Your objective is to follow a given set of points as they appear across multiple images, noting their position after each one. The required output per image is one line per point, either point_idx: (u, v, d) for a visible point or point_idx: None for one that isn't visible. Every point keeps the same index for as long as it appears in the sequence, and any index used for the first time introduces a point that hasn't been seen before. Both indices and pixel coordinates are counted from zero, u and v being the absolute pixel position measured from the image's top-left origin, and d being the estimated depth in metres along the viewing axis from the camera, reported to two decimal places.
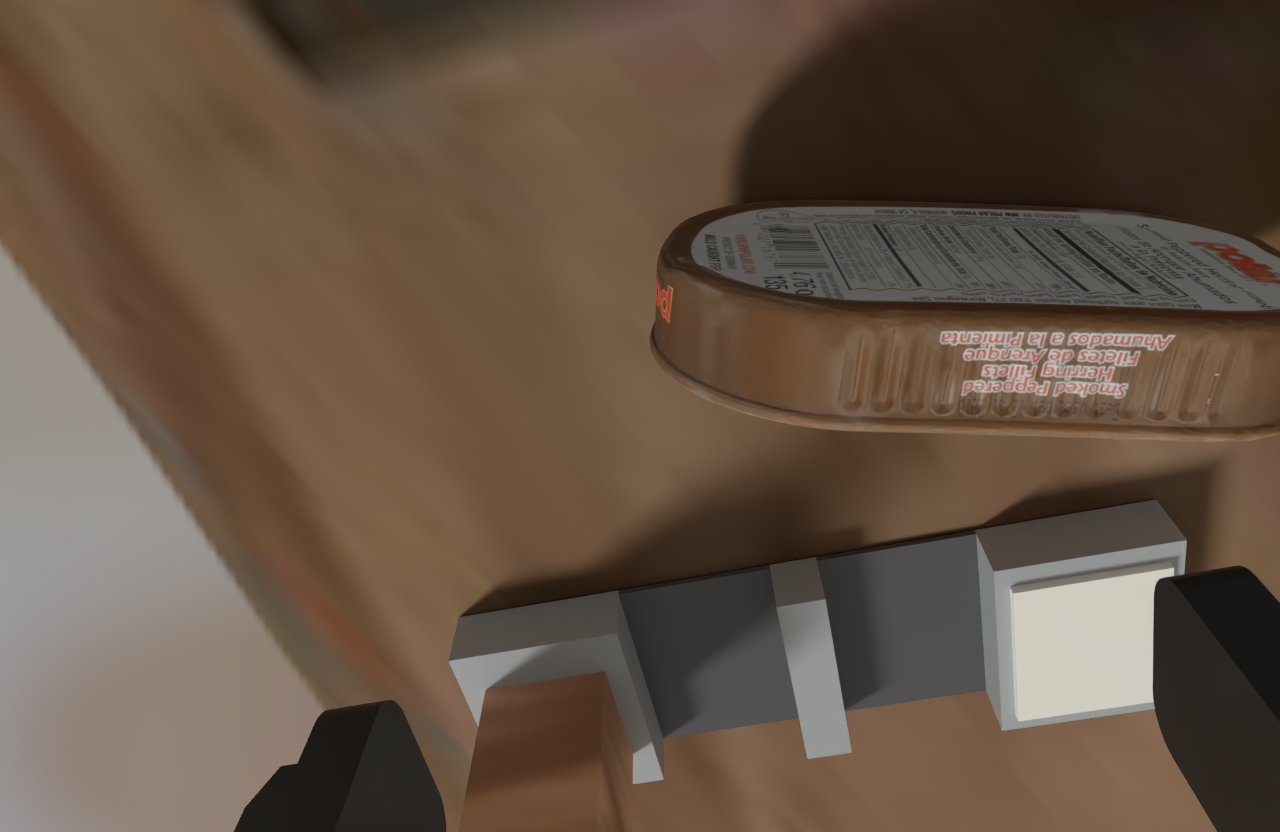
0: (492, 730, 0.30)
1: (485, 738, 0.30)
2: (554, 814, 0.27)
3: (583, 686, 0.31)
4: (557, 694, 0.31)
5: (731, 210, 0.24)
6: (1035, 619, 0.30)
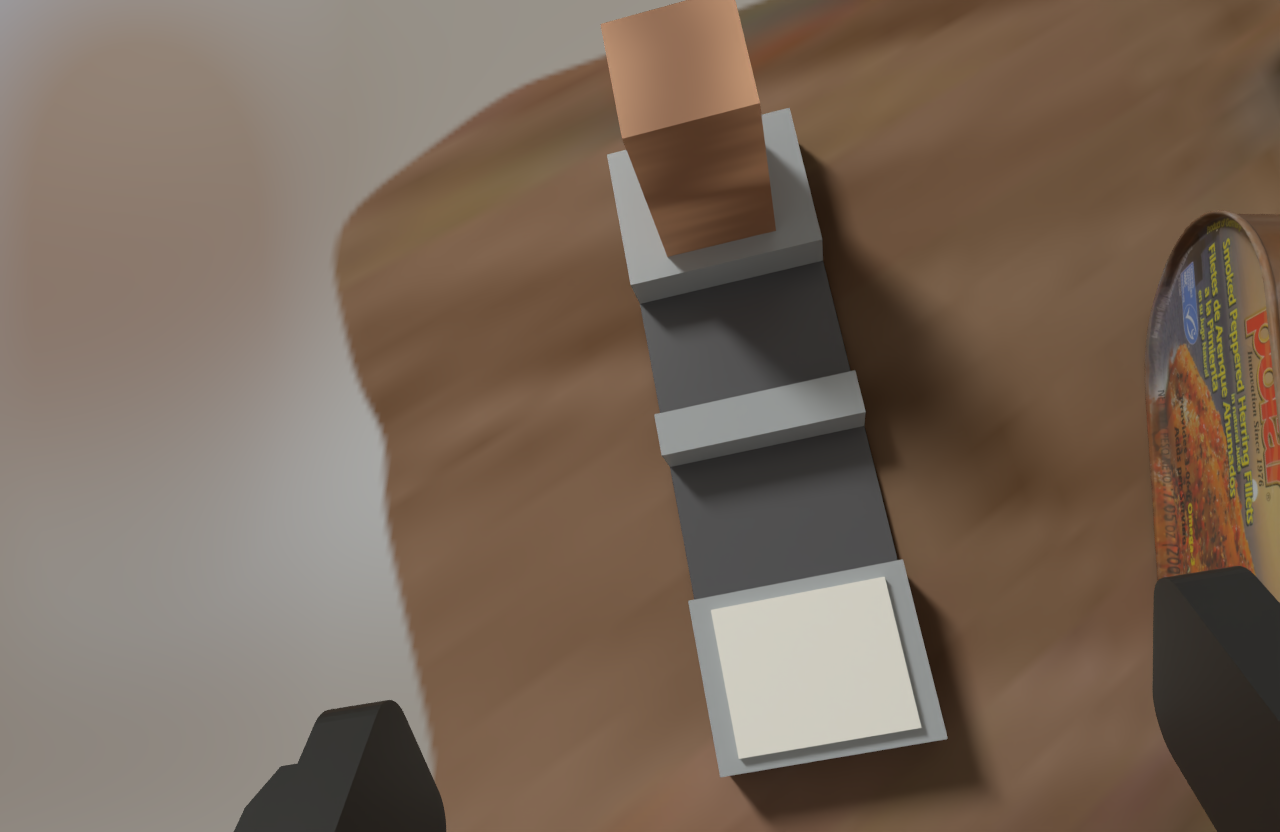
0: None
1: None
2: None
3: None
4: None
5: None
6: (852, 603, 0.31)
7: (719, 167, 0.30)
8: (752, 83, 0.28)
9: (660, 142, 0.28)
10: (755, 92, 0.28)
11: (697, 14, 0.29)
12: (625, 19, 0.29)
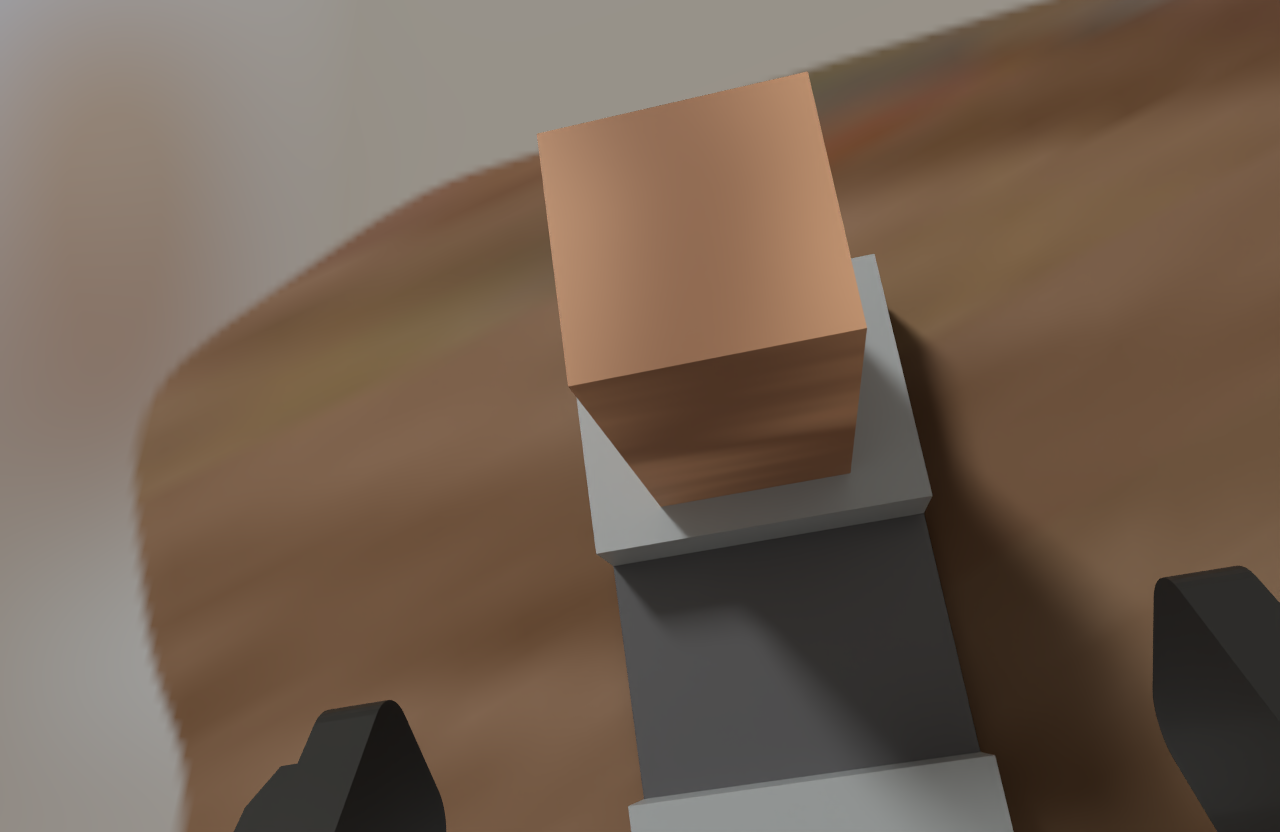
0: None
1: None
2: None
3: None
4: None
5: None
6: None
7: (766, 414, 0.16)
8: (850, 281, 0.13)
9: (649, 387, 0.14)
10: (857, 302, 0.13)
11: (735, 123, 0.14)
12: (588, 126, 0.14)
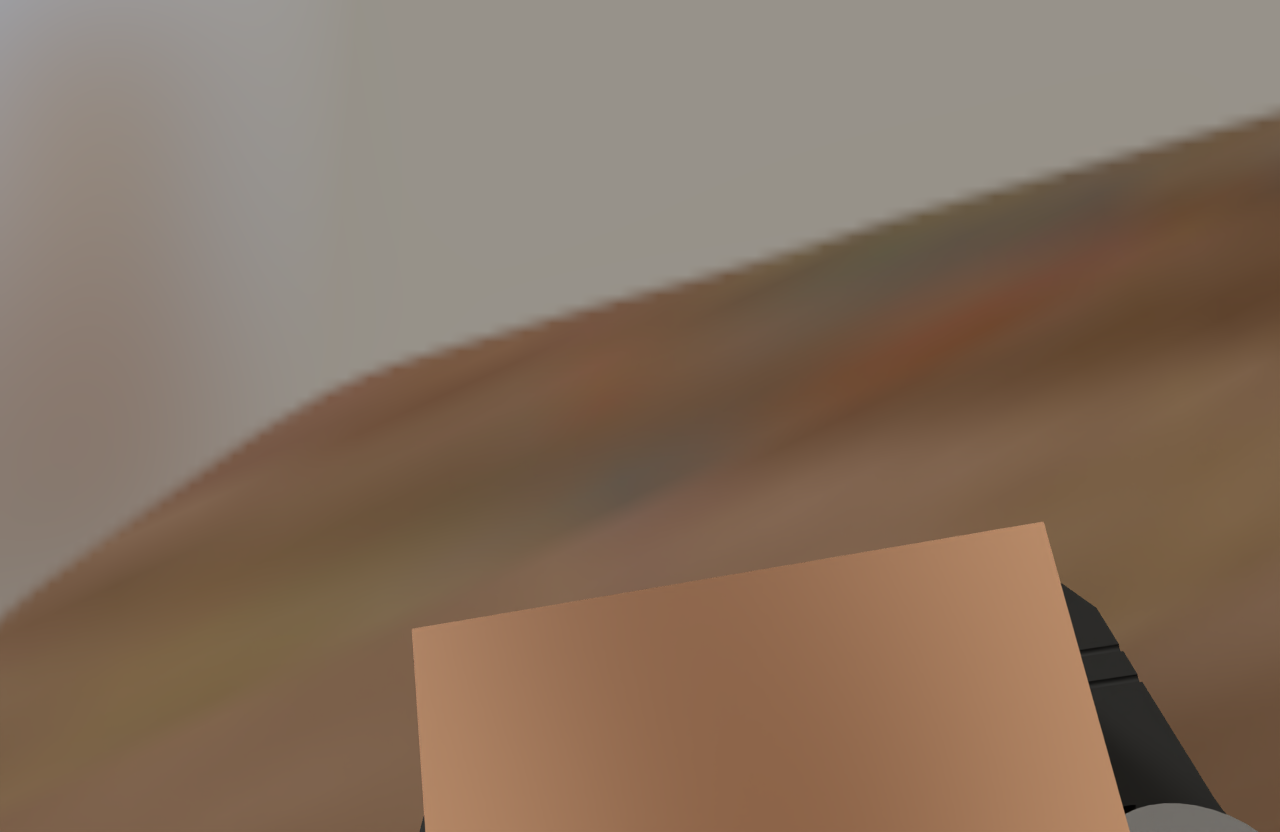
0: None
1: None
2: None
3: None
4: None
5: None
6: None
7: None
8: None
9: None
10: None
11: (873, 649, 0.06)
12: (529, 612, 0.06)
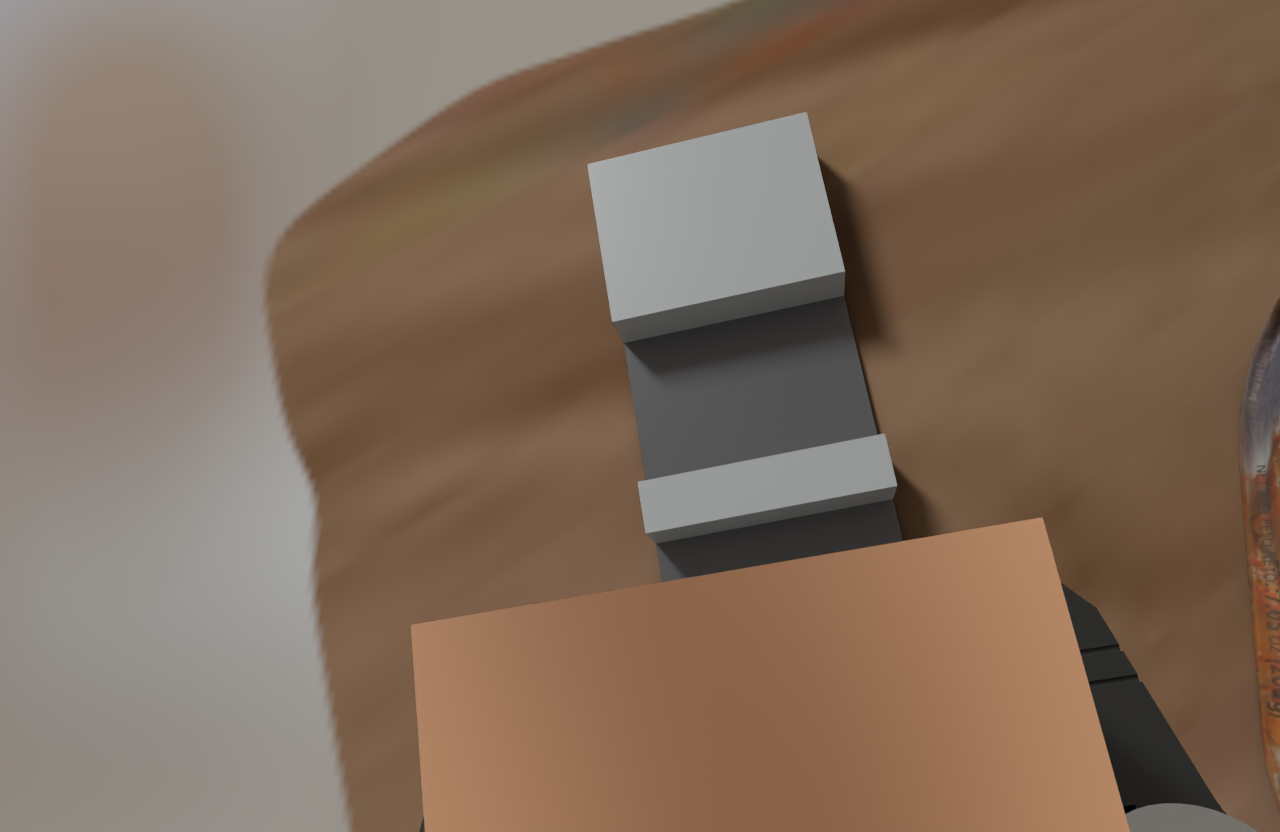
0: None
1: None
2: None
3: None
4: None
5: None
6: None
7: None
8: None
9: None
10: None
11: (872, 646, 0.06)
12: (527, 608, 0.06)
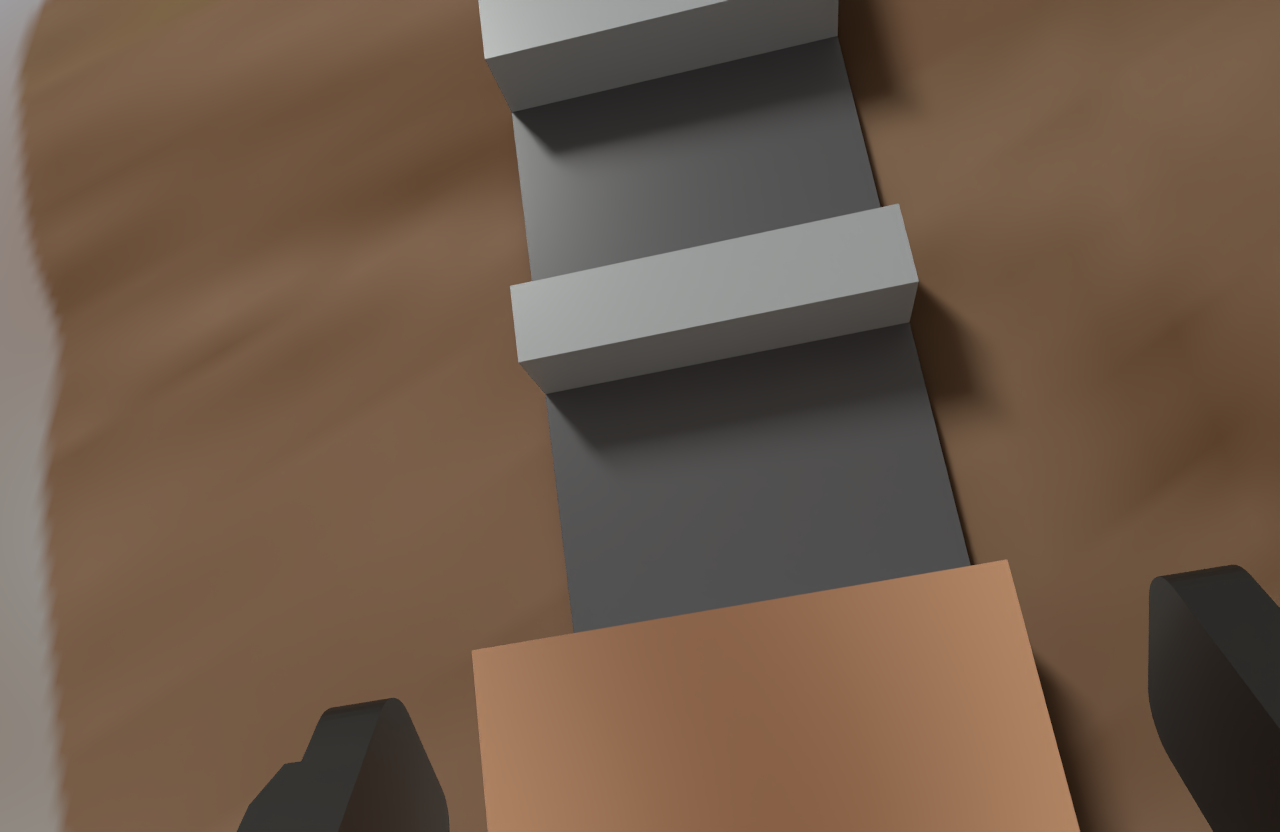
0: None
1: None
2: None
3: None
4: None
5: None
6: None
7: None
8: None
9: None
10: None
11: (863, 667, 0.07)
12: (570, 636, 0.07)
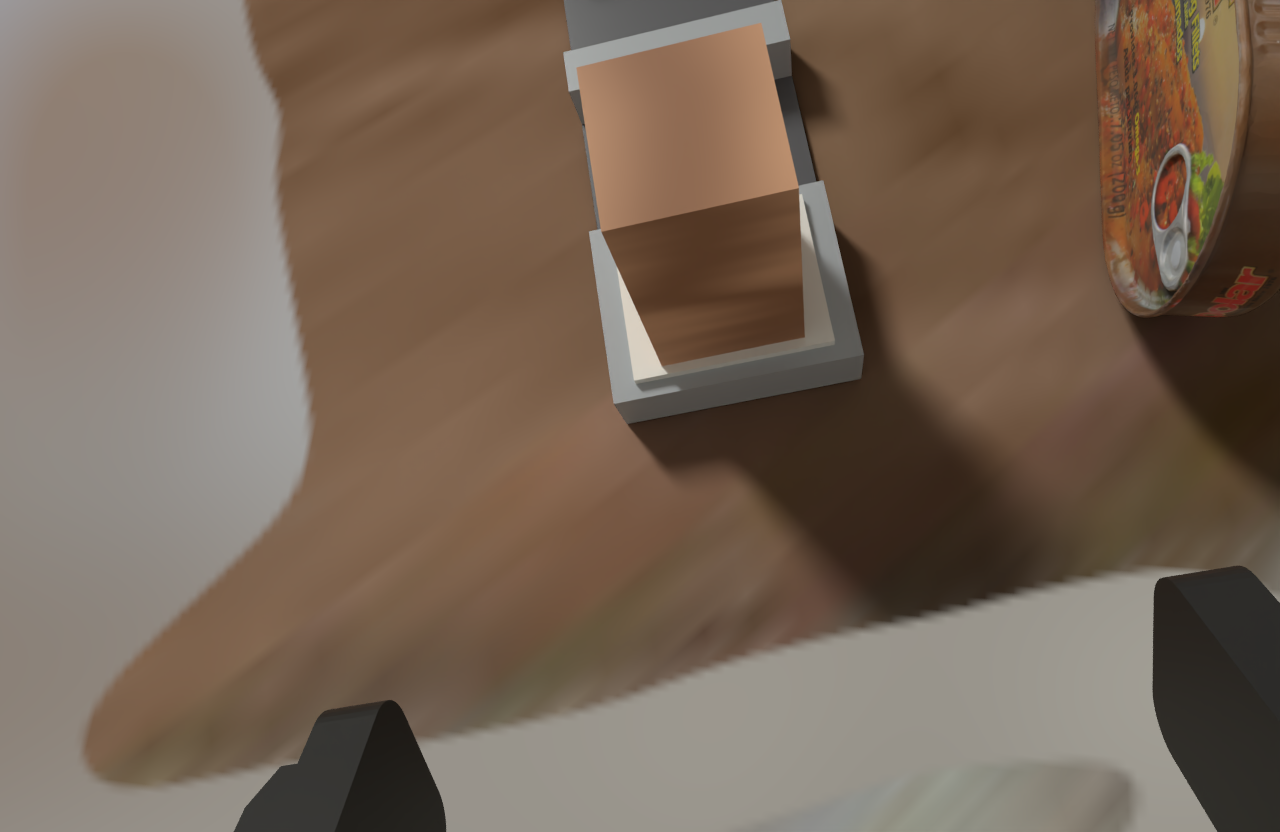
0: None
1: None
2: None
3: None
4: None
5: None
6: None
7: (735, 266, 0.22)
8: (788, 159, 0.19)
9: (655, 236, 0.20)
10: (792, 172, 0.19)
11: (711, 58, 0.20)
12: (611, 62, 0.21)
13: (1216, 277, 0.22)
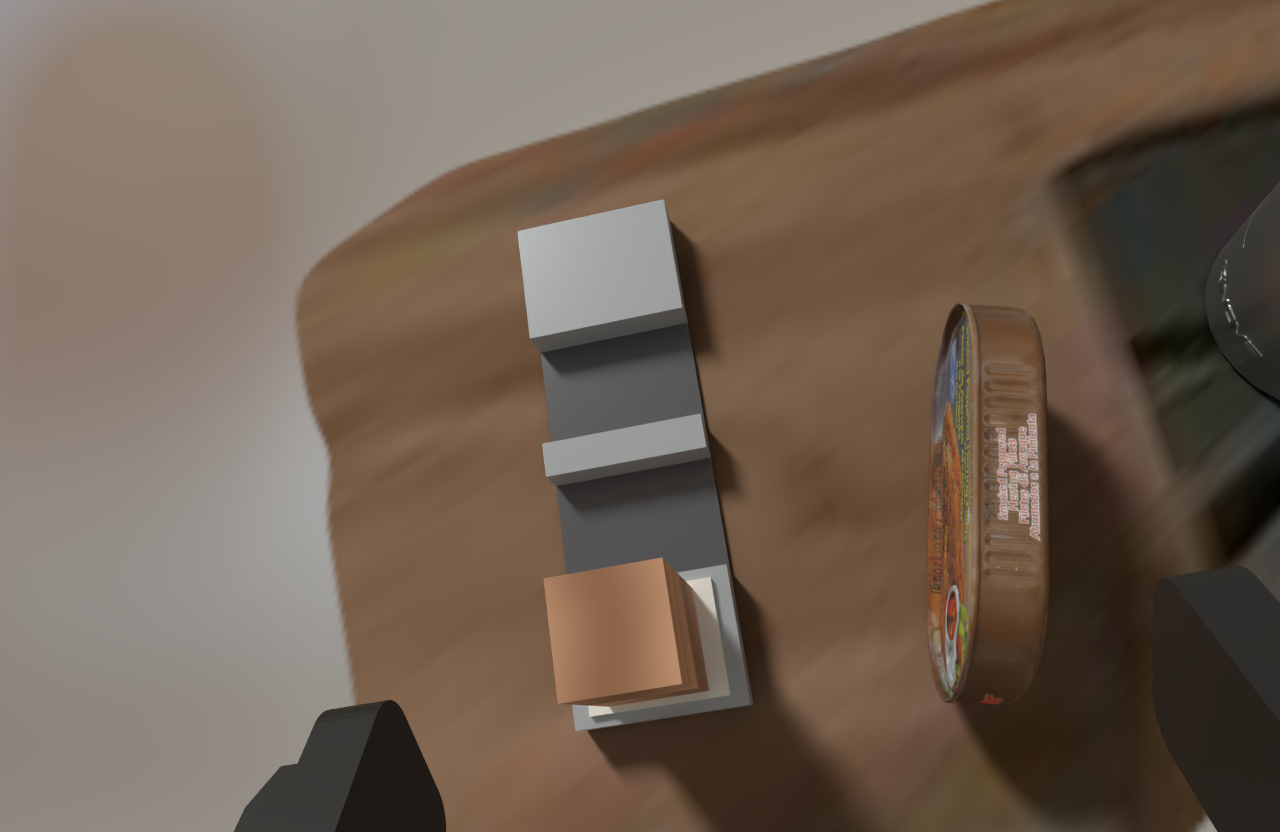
0: (688, 595, 0.37)
1: (687, 589, 0.37)
2: (687, 649, 0.34)
3: (704, 672, 0.38)
4: (700, 650, 0.38)
5: None
6: None
7: (650, 693, 0.33)
8: (676, 661, 0.31)
9: (593, 699, 0.31)
10: (678, 671, 0.31)
11: (630, 581, 0.32)
12: (566, 575, 0.32)
13: (971, 696, 0.34)
